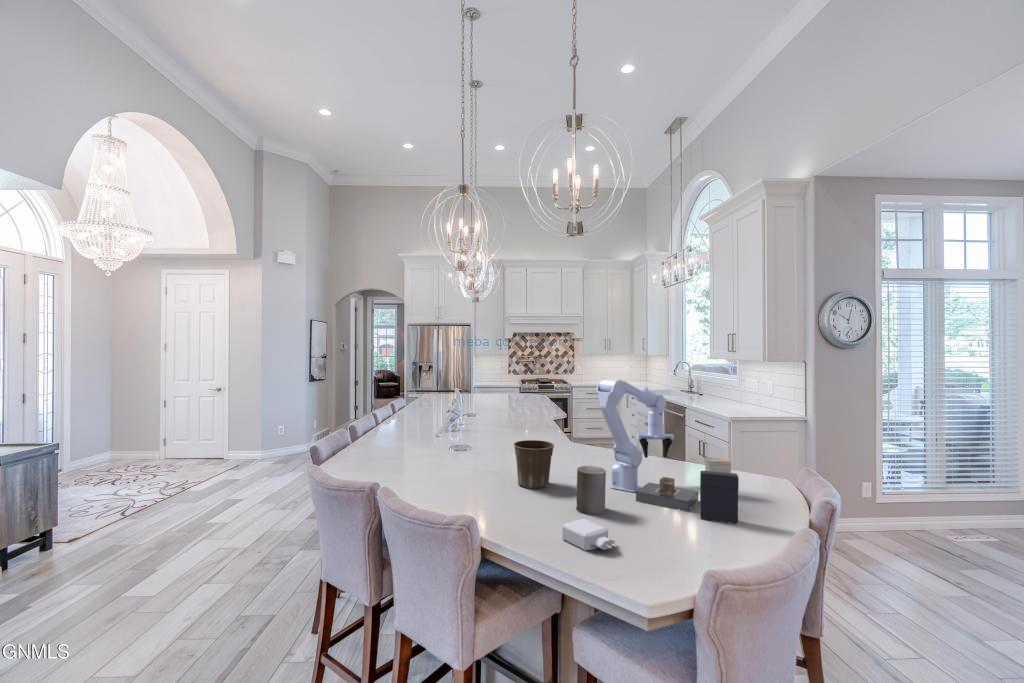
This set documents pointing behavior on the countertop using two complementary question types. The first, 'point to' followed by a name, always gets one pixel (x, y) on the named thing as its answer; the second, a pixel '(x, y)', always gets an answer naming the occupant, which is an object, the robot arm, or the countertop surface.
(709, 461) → the supplement box
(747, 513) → the countertop surface
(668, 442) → the robot arm
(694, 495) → the grey peg hole board
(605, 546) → the charger
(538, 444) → the plant pot
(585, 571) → the countertop surface
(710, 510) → the black rectangular box
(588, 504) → the pillar candle
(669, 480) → the key peg
